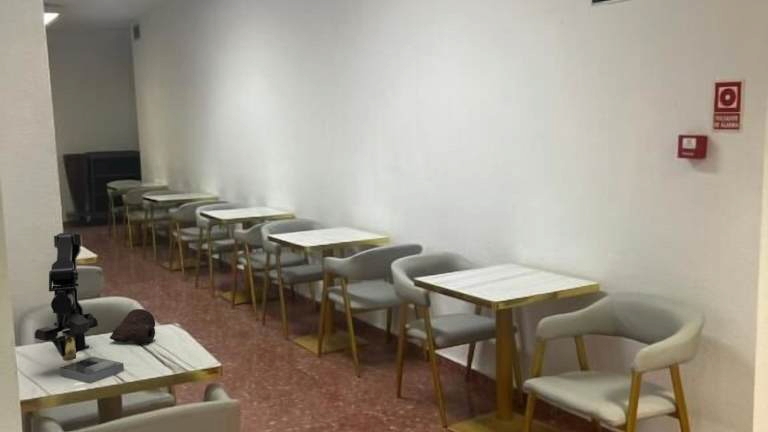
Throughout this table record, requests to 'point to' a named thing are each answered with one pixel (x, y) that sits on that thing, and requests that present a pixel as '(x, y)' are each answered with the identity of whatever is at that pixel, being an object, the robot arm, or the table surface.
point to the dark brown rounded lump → (135, 328)
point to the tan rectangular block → (69, 348)
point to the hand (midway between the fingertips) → (69, 354)
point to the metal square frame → (91, 369)
